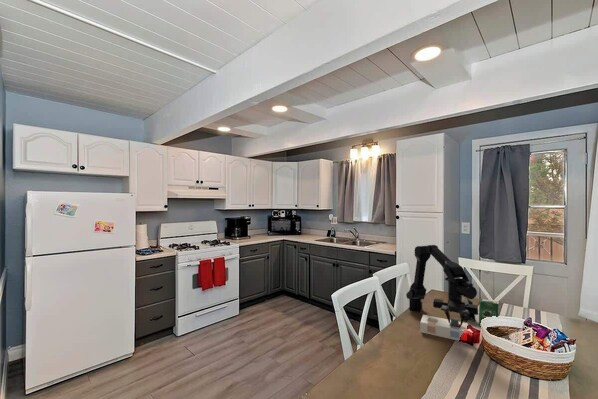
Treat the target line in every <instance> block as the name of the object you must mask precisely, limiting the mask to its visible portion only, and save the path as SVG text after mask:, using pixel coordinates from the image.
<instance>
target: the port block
mask: <svg viewBox="0 0 598 399" xmlns="http://www.w3.org/2000/svg"><path fill="white" fill-rule="evenodd" d="M459 325H461V321H459ZM468 325H469V324H468V322H464V321H463V323H462V325H461V327H460V328H459V327H454V326H451V319H450V323H449V322H448V319H447V318H443V317H439V316H438V317H436V316H431V315H427V314H422V317H421V320H420V323H419V326H420V327H419V328H420V333H422V334H427V335H432V336H435V337H441V338H446V339H450V340H454V341H459V340H460V337H461V335H462V334H463V333H464V332H467V331H464V329H467V326H468ZM468 327H469V326H468ZM459 342H460V341H459Z"/></svg>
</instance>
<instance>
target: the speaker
mask: <svg viewBox="0 0 598 399" xmlns="http://www.w3.org/2000/svg"><path fill="white" fill-rule="evenodd" d="M466 299H467V300H462V302H464V303H465V306H468V304H473V305H474V303H473V301H472V300H471V299H469V298H466ZM461 316H462V311H461V310H460V313H459V317H460V319H461ZM470 319H472V320H473V321H474V322H476V321H477V320H476V315H474V314H470V313H469V315H466V316H465V318H464V320H470Z"/></svg>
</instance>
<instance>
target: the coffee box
mask: <svg viewBox="0 0 598 399" xmlns="http://www.w3.org/2000/svg"><path fill="white" fill-rule="evenodd" d="M478 301H479V304H478V325H480V323H481V320H482V319H484V318H486V317H492V316H496V317H498V318H499V303H498V302H497V301H490V300H482V299H480V300H478Z"/></svg>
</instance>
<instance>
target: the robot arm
mask: <svg viewBox="0 0 598 399" xmlns="http://www.w3.org/2000/svg"><path fill="white" fill-rule="evenodd" d="M431 256H432V257H433V258H434V259H435V261H437V263H439V265H440V266H442V270H443V272H444V274H445V275H446V276H447V277H445V278H444V280H445V281H447V289H448V291H447V296H448V299H447V301H444V299H440V298H434V299H433V302H432V306H433V308H435V309H440V310H441V311H443V312H444V314H445V316H446V319H448V322H449V323H450V320H451V316H450V315H451V314H450V313H457V314H460V310H461V311H462V316H461V318H460V322H461V325H462V323H463V322H464V320H465V319H464V318H465V316H466V315H469V313H470V314H474V315H475V316H479V305H477V304H474V303H473V304H468V306H465V303H464V302H462V301H463V297H464V298H466V299H469V300H473V299H475V298H476V297H477V295H478V291H477V289H476V288H475V287H474V284H473V283H471V282H470V280H469V277H468V275H467V274H466V272H465V269H464V268H463V266H461V265H460V264H459V263H457V262H455V261H452V260H451V259H450V258H449V257H448V256H447V255H445V253H444V252H443V251H442V250H441V249H439V246H438V245H436V244H428V245H420V246H419V245H417V246H415V248H414V257H415V259H416V264H415V272H414V279H413V283H411V285H410V287H409V290H408V291H407V292H406V298H407V299H408V300H409V301H408V302H409V304H408V305H409V306H408V310H410V311H415V312H421V311H422V310H423V301H422V300H425V297H426V295H427V288H425V285H424V281H425V272H426V268H427V267H426V266H427V262H428V261H429V259H431Z"/></svg>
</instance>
